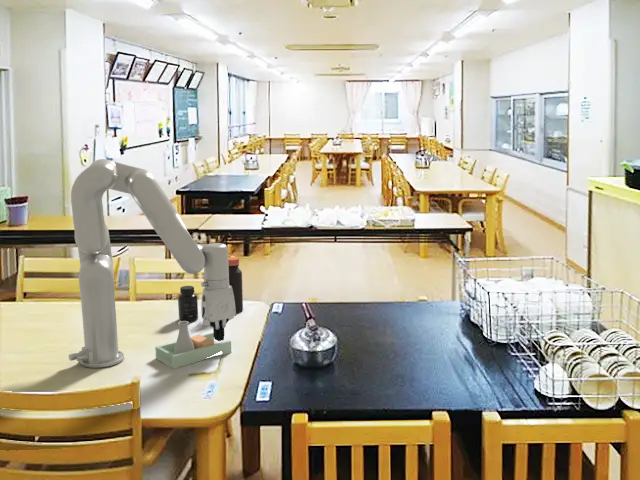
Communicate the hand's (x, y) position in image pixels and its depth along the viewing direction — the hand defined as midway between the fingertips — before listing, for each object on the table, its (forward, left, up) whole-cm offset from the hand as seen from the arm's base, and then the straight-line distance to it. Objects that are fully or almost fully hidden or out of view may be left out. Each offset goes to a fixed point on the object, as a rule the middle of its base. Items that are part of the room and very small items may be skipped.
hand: (219, 339), depth 215 cm
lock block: (-6, 0, -1) cm, 7 cm away
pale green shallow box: (-9, 0, -3) cm, 10 cm away
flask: (-12, 0, -2) cm, 12 cm away
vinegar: (+26, +31, -3) cm, 40 cm away
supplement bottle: (+8, +33, -3) cm, 34 cm away
